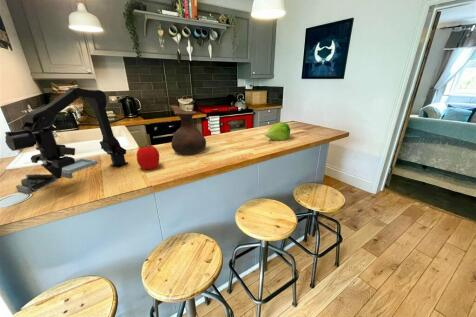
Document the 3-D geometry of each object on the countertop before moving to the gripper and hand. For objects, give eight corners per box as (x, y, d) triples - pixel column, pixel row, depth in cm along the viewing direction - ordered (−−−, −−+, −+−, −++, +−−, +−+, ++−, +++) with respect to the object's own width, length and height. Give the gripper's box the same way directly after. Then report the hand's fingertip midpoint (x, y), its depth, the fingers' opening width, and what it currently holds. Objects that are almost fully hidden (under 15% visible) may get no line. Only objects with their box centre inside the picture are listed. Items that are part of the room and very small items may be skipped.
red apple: (151, 174, 102) (147, 149, 97) (133, 171, 106) (128, 147, 101) (166, 165, 112) (163, 143, 108) (149, 163, 116) (145, 141, 112)
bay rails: (73, 178, 98) (71, 172, 97) (29, 195, 84) (26, 189, 83) (62, 175, 101) (60, 170, 100) (18, 192, 86) (15, 185, 85)
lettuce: (258, 142, 156) (259, 122, 150) (282, 138, 164) (284, 119, 159) (269, 147, 143) (270, 125, 138) (294, 143, 152) (296, 123, 147)
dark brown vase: (203, 146, 145) (200, 104, 135) (209, 156, 126) (206, 107, 116) (172, 150, 139) (166, 105, 128) (173, 160, 120) (166, 109, 109)
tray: (97, 164, 115) (96, 160, 115) (69, 174, 102) (68, 170, 101) (83, 161, 119) (82, 158, 118) (54, 171, 106) (53, 167, 105)
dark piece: (48, 179, 98) (16, 171, 87) (59, 175, 96) (28, 166, 86) (43, 198, 93) (9, 192, 83) (54, 194, 92) (21, 188, 82)
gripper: (83, 140, 85) (92, 173, 91) (55, 136, 92) (65, 168, 97) (52, 148, 76) (65, 184, 81) (23, 143, 82) (37, 178, 87)
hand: (59, 178), depth 87 cm, fingers closed
